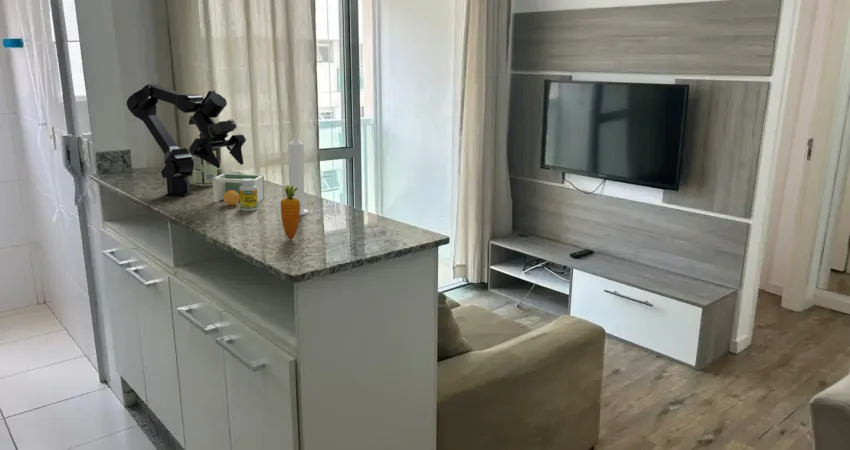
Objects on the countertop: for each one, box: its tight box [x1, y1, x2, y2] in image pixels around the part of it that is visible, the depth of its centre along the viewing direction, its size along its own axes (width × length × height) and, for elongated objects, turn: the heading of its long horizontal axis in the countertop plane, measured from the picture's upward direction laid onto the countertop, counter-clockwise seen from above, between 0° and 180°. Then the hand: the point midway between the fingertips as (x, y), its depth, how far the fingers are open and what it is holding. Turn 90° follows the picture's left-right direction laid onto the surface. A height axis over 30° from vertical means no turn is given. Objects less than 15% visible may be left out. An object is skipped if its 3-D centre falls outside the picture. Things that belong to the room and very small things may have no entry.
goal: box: [212, 173, 265, 204], centre depth 209 cm, size 14×9×8 cm, turn 87°
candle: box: [288, 132, 309, 216], centre depth 192 cm, size 7×7×25 cm
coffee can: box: [192, 147, 223, 187], centre depth 234 cm, size 10×10×14 cm
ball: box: [222, 190, 240, 206], centre depth 202 cm, size 5×5×5 cm
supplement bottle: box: [239, 179, 259, 212], centre depth 197 cm, size 5×5×10 cm
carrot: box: [280, 184, 301, 241], centre depth 164 cm, size 5×5×15 cm
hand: (231, 165), depth 199 cm, fingers open, 9 cm apart
